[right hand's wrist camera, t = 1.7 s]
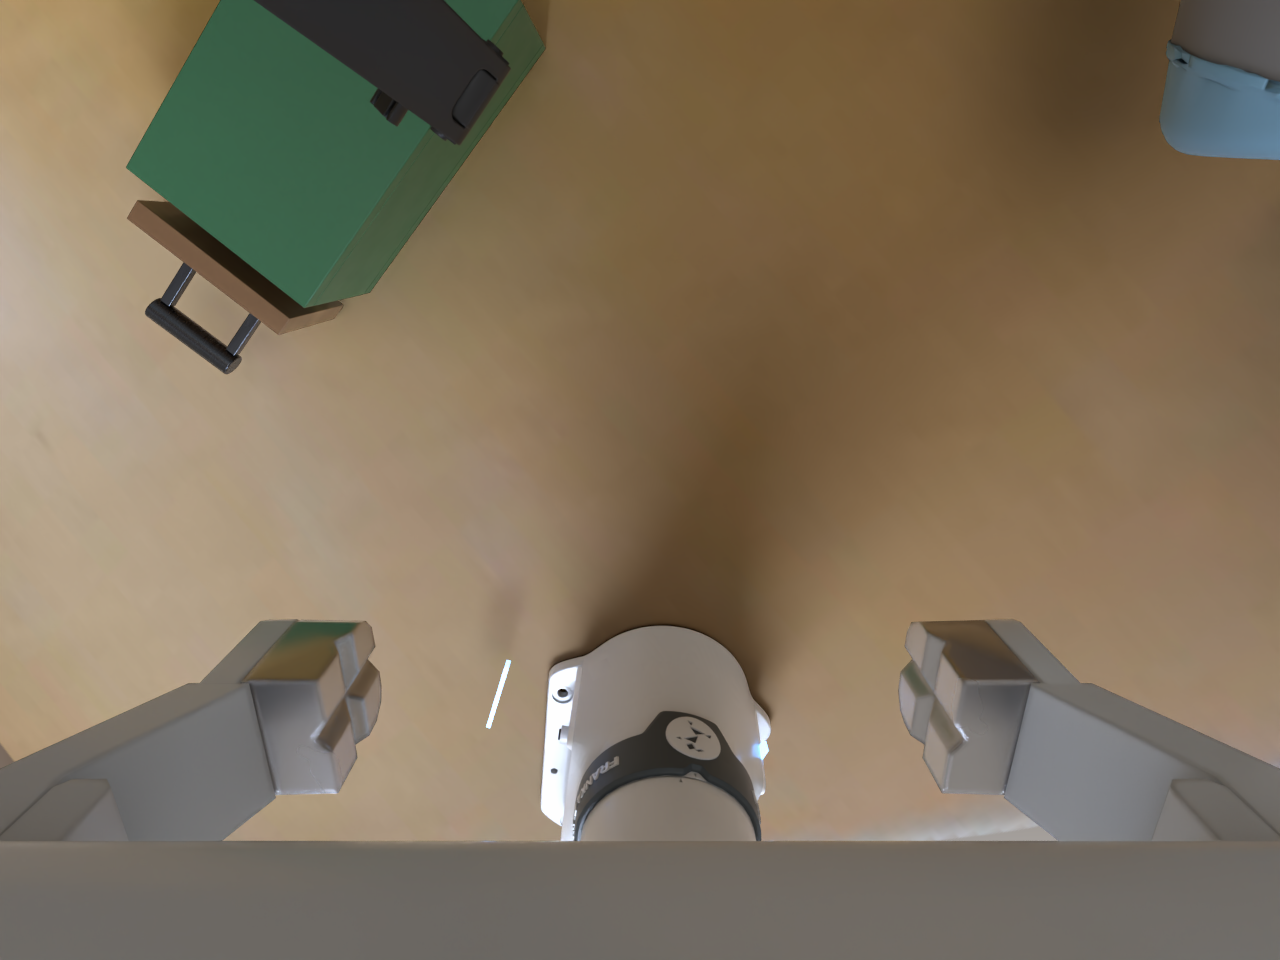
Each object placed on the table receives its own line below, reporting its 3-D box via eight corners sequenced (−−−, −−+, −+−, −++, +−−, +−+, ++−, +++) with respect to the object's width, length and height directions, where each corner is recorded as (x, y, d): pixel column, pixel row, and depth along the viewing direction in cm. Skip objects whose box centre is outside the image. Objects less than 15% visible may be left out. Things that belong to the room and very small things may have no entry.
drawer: (290, 380, 46) (229, 406, 39) (167, 287, 44) (80, 297, 37) (493, 94, 40) (463, 67, 33) (362, -29, 38) (302, -85, 31)
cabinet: (369, 293, 45) (304, 308, 36) (230, 180, 43) (124, 167, 34) (546, 48, 40) (519, -3, 31) (400, -95, 38) (328, -193, 29)
